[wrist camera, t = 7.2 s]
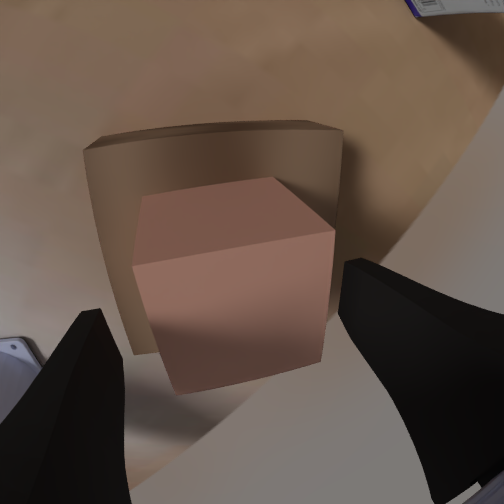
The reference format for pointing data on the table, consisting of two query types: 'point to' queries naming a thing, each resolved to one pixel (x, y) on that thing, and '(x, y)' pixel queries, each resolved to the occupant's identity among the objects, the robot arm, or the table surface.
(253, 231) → the terracotta cube
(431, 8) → the supplement box
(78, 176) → the table surface
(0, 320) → the table surface
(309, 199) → the walnut block
